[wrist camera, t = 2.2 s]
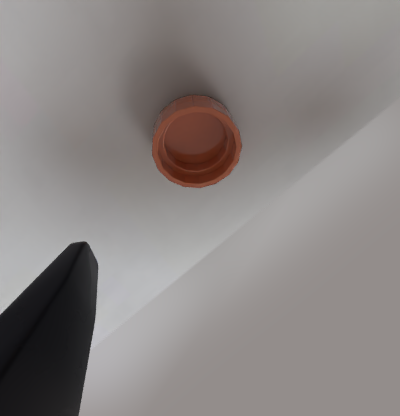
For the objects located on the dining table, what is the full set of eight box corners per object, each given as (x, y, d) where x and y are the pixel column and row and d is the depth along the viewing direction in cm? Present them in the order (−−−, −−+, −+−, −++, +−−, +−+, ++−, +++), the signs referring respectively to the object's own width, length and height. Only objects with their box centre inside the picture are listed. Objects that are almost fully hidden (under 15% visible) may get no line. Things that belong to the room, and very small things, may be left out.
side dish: (249, 138, 19) (257, 155, 17) (188, 181, 20) (190, 201, 18) (202, 74, 16) (206, 86, 14) (136, 128, 18) (133, 145, 16)
